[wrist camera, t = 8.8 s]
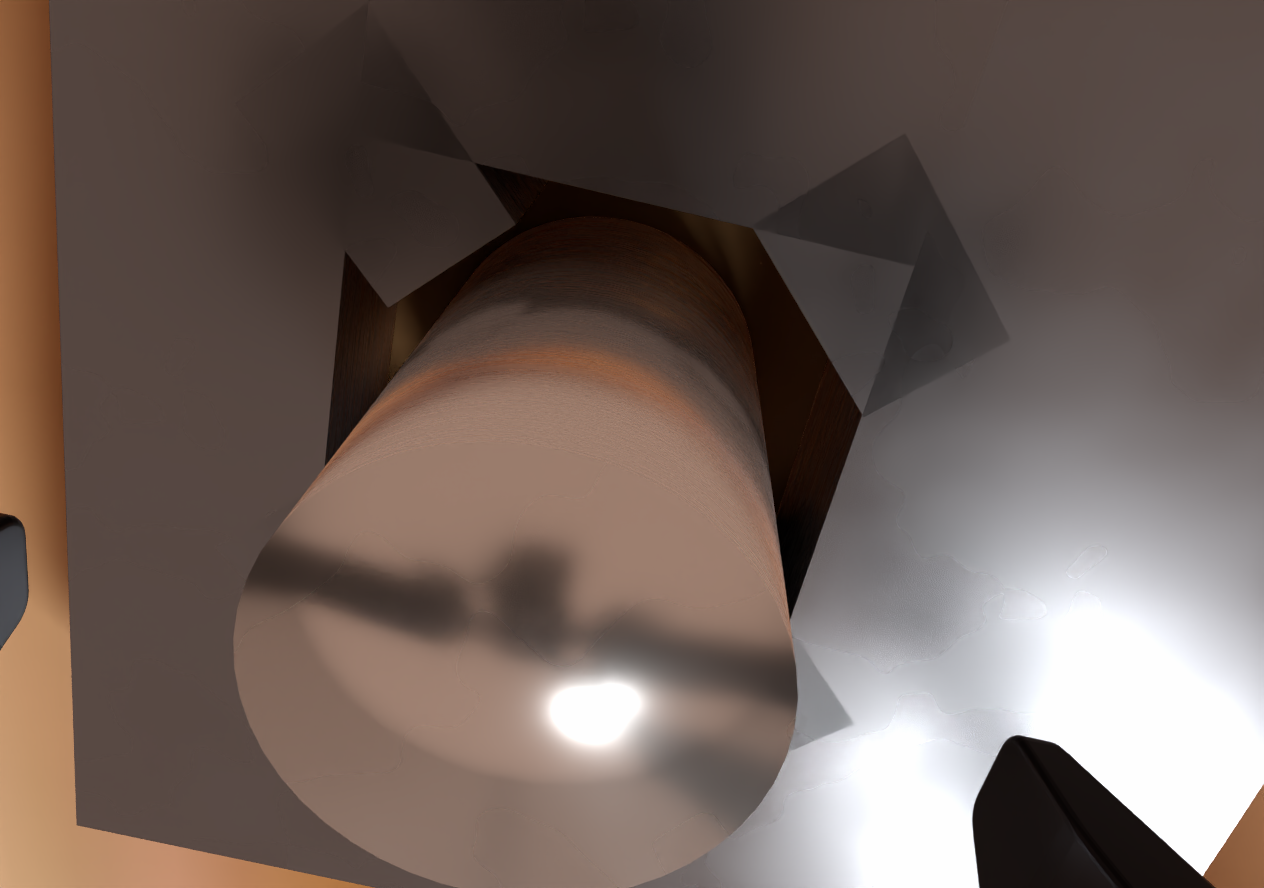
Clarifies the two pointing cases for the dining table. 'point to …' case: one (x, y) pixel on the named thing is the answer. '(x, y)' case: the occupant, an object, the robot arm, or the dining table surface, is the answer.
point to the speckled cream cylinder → (538, 582)
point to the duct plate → (839, 418)
